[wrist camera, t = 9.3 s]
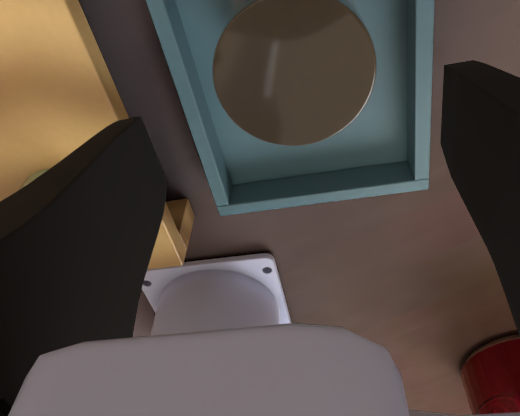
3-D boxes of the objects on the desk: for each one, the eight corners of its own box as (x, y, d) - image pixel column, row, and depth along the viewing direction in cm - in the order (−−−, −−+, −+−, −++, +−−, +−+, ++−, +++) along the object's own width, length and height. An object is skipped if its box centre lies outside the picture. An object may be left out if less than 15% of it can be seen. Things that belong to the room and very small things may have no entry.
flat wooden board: (195, 215, 24) (184, 266, 21) (70, 232, 25) (45, 282, 23) (4, -274, 13) (-70, -295, 10) (-206, -205, 14) (-321, -207, 11)
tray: (418, 162, 21) (428, 189, 20) (224, 189, 23) (219, 216, 21) (425, -325, 12) (445, -345, 10) (90, -225, 13) (65, -229, 12)
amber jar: (360, 65, 18) (380, 134, 14) (244, 86, 19) (233, 156, 15) (351, -69, 15) (372, -27, 11) (213, -38, 16) (191, 10, 12)
